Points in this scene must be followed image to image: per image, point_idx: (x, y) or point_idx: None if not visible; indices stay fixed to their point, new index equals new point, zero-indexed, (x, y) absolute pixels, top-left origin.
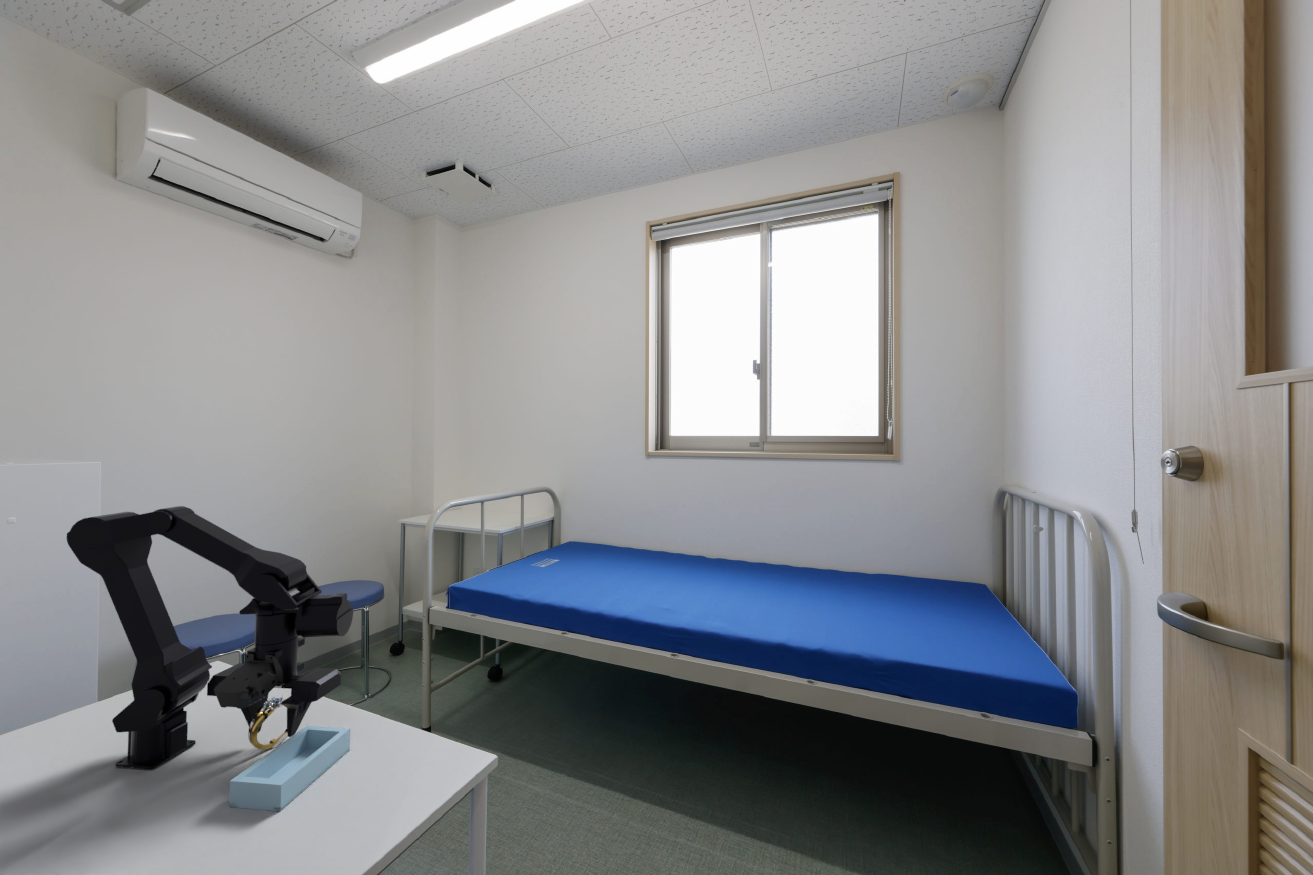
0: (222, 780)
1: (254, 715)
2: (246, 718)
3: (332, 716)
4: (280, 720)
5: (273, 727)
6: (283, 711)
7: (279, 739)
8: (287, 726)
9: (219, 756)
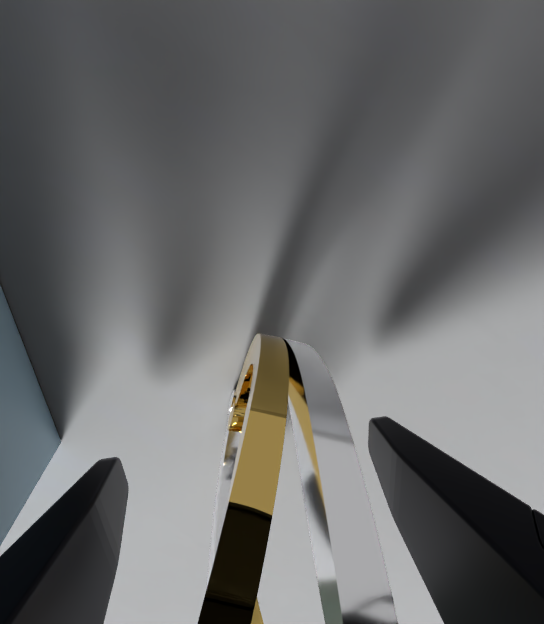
0: (233, 79)
1: (377, 553)
2: (495, 494)
3: (195, 609)
4: None
5: None
6: None
7: (231, 438)
8: (71, 523)
9: (462, 272)
